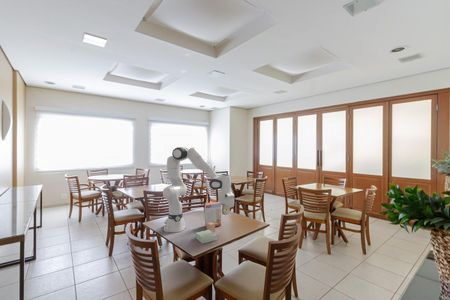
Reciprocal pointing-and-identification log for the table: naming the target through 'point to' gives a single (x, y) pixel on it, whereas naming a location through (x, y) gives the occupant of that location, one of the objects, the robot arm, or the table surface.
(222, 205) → the beech block
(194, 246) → the table surface
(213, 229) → the terracotta block
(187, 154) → the robot arm
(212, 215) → the cracker box
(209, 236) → the sage pedestal block
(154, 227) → the table surface
